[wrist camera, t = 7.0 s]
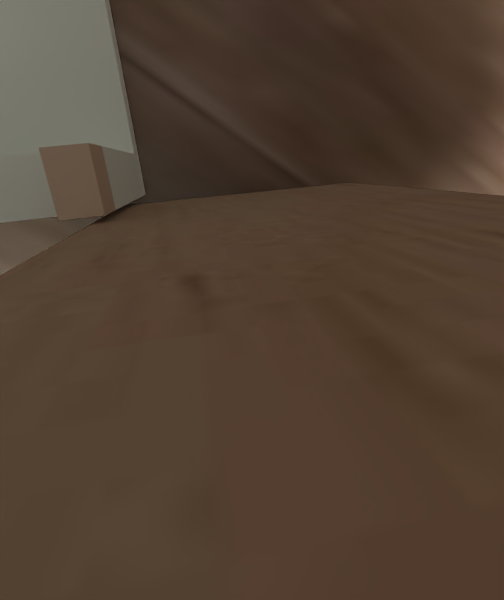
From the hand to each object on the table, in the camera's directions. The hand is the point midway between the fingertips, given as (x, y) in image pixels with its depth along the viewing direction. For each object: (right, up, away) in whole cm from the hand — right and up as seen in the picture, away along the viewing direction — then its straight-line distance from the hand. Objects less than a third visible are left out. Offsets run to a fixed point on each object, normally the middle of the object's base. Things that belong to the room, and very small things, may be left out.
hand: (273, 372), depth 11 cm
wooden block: (-1, +2, +5) cm, 5 cm away
